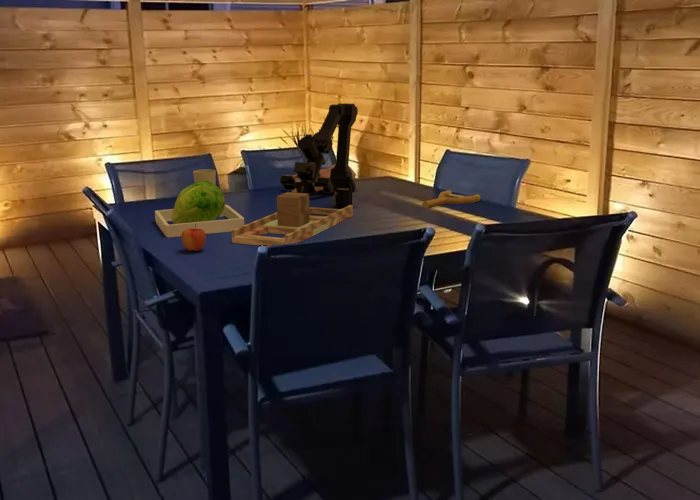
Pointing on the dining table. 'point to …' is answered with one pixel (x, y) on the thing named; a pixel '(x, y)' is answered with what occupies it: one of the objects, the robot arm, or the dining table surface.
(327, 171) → the sculpture
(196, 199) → the lettuce
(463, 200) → the slingshot
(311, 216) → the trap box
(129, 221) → the dining table surface
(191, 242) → the apple
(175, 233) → the lettuce crate rim
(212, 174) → the mug
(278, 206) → the walnut block
